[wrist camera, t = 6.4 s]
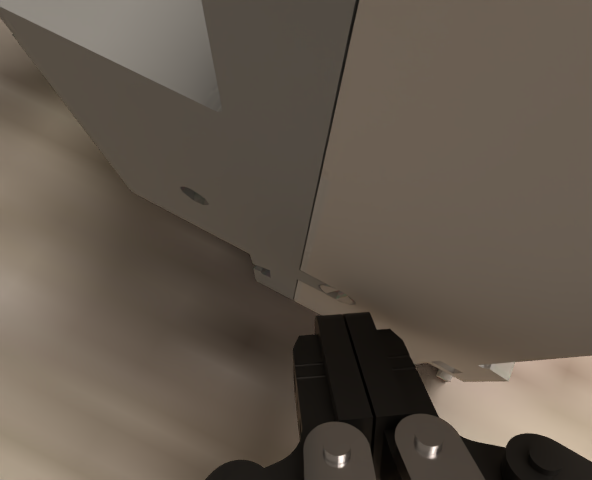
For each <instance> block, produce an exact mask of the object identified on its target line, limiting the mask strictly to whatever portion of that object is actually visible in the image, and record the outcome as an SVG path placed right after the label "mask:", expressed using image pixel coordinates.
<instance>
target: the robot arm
mask: <svg viewBox="0 0 592 480" xmlns="http://www.w3.org/2000/svg"><path fill="white" fill-rule="evenodd" d="M293 368H294V392H295V401H296V409H297V418H298V427H299V436H300V442H299V444H298V446H297V447H296V448H295V450H294V451H293V452H292V453H291V454H290V455H289V456H288V457H286V458H285V459H283V460H281V461H279V462H277V463H275V464H273V465H270V466H268V467H266V468H263V467H261V466H260V465H259V464H257V463H255V462H252V461H248V460H235V461H230V462H228V463H225V464H223V465H221V466H219V467H218V468H217V469H215V470H214V471H213V472H212V473H211V474H210V475H209V476H208V477H207V478H206V480H592V462H591V461H589V460H587V459H586V458H584V457H582V456H580V455H579V454H577V453H575V452H573V451H572V450H570V449H568V448H566V447H565V446H563V445H561V444H560V443H558V442H556V441H554V440H552V439H550V438H547V437H545V436H542V435H538V434H529V433H525V434H520V435H517V436H515V437H513V438H511V440H510V441H509V442H508V444H507V446H506V448H505V447H500V446H495V445H489V444H484V443H479V442H475V441H471V440H468V439H466V438H463V437H461V436H459V434H458V433H457V431H456V430H455V429H454V428H453V427H452V426H451V425H450V424H449V423H447V422H446V421H444V420H443V419H441V418H439V416H438V414H437V412H436V410H435V408H434V406H433V404H432V402H431V399H430V397H429V395H428V393H427V391H426V389H425V387H424V384H423V382H422V380H421V378H420V376H419V374H418V371H417V370H416V369H415V365H414V363H413V361H412V359H411V358H410V354H409V352H408V350H407V348H406V346H405V344H404V341H403V340H402V339H401V338H400V337H399V336H398V335H396V334H395V333H394V332H393V331H392V330H391V329H379V330H377V329H376V326H375V324H374V321H373V319H372V316H371V314H370V312H359V313H346V314H343V315H342V314H334V315H321V316H315V335H304V336H299V337H298V339H297V341H296V343H295V346H294V348H293Z"/></svg>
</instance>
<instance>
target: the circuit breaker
mask: <svg viewBox="0 0 592 480" xmlns="http://www.w3.org/2000/svg"><path fill="white" fill-rule="evenodd" d="M0 18H1V19H2V20H3V22H4V23H5V24H6V26H7V27H8V28H9V29H10V31H11V32H12V33H13V34H12V35H13V36H14V37H15V39H16V40H17V41H18V43H19V44H20V45H21V47H22V48H23V49H24V51H25V52H26V53H27V55H28V56H29V57H30V59H31V60H32V61H33V63H34V64H35V65H36V66H37V68H38V69H39V70H40V72H41V73H42V74H43V76H44V77H45V78H46V80H47V81H48V82H49V84H50V85H51V86H52V88H53V89H54V90H55V92H56V93H57V94H58V96H59V97H60V98H61V99H62V101H63V102H64V103H65V105H66V106H67V107H68V109H69V110H70V111H71V113H72V114H73V115H74V117H75V118H76V119H77V121H78V122H79V123H80V125H81V126H82V127H83V129H84V130H85V131H86V133H87V134H88V135H89V136H90V138H91V139H92V140H93V142H94V143H95V144H96V146H97V147H98V148H99V150H100V151H101V152H102V154H103V155H104V156H105V158H106V159H107V160H108V162H109V163H110V164H111V166H112V167H113V168H114V169H115V171H116V172H117V173H118V175H119V176H120V177H121V179H122V180H123V181H124V183H125V184H126V185H127V187H128V188H129V189H130V191H132V192H133V193H134V194H136V195H138V196H140V197H142V198H144V199H146V200H148V201H150V202H151V203H153V204H155V205H157V206H159V207H161V208H163V209H165V210H167V211H169V212H171V213H172V214H174V215H176V216H178V217H180V218H182V219H184V220H186V221H188V222H190V223H191V224H193V225H195V226H197V227H199V228H201V229H203V230H205V231H207V232H209V233H210V234H212V235H214V236H216V237H218V238H220V239H222V240H224V241H226V242H228V243H230V244H231V245H233V246H235V247H237V248H239V249H241V250H243V251H245V252H247V253H249V254H250V257H251V260H252V264H254V265H255V267H254V274H255V279H256V281H258V282H259V283H261V284H263V285H265V286H267V287H269V288H270V289H272V290H274V291H276V292H278V293H280V294H282V295H284V296H286V297H287V298H289V299H291V300H293V299H294V301H295V302H297V303H299V304H301V305H303V306H304V307H306V308H308V309H310V310H312V311H314V312H316V313H318V314H320V315H334V314H342V315H343V314H346V313H359V312H370V314H371V316H372V319H373V321H374V324H375V326H376V329H377V330H379V329H391V330H392V331H393V332H394V333H395V334H396V335H398V336H399V337H400V338H401V339H402V340H403V341H404V344H405V346H406V348H407V350H408V352H409V354H410V358H411V359H412V361H413V363H414V364H422V363H429V364H431V365H433V366H435V367H437V368H439V370H438V372H437V375H436V376H437V377H439V378H441V379H442V380H444V381H446V382H451V379H452V377H453V376H454V377H456V378H458V379H459V380H461V381H463V382H485V381H509V379H510V376H511V373H512V370H513V367H514V364H515V362H521V361H533V360H544V359H556V358H568V357H579V356H591V355H592V0H0Z"/></svg>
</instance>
